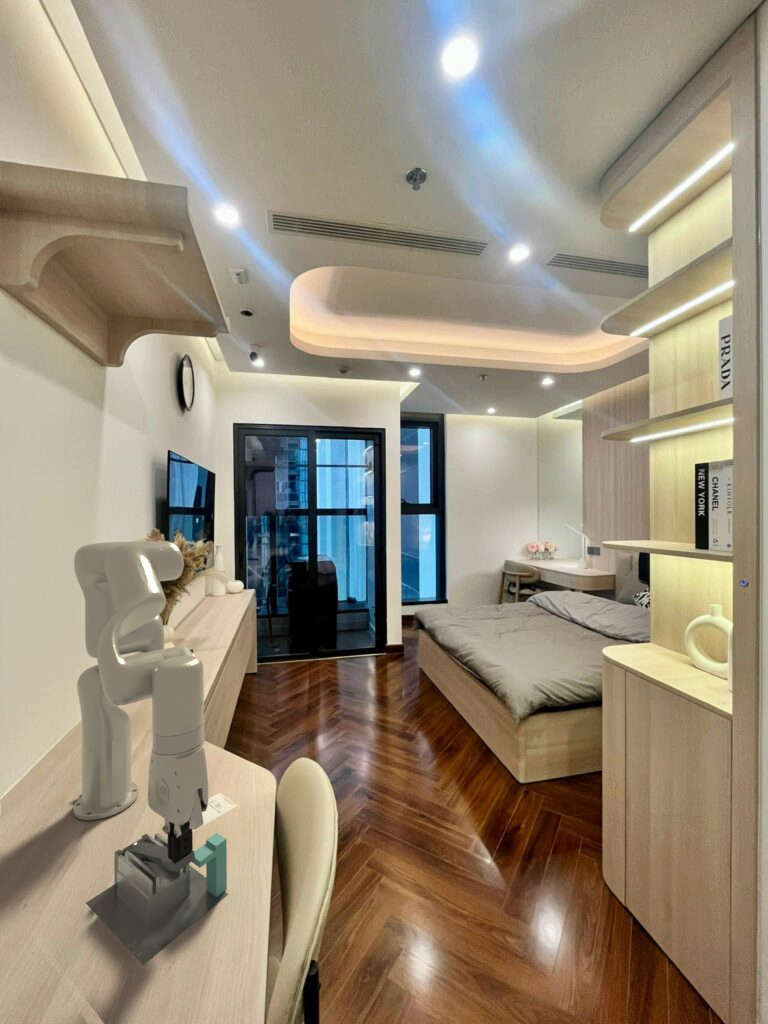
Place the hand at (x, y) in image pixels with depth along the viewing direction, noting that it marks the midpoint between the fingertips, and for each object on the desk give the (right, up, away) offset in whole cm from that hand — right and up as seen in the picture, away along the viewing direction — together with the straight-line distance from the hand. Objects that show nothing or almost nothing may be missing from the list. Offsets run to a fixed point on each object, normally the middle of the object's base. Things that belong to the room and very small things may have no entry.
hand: (180, 855), depth 69 cm
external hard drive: (-7, -12, +25) cm, 29 cm away
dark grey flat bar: (-6, -4, +4) cm, 8 cm away
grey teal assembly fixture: (-6, -11, +4) cm, 13 cm away
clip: (+3, -10, +4) cm, 11 cm away
